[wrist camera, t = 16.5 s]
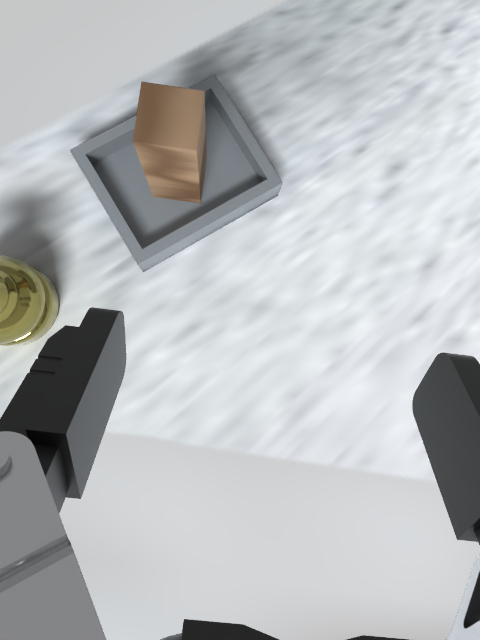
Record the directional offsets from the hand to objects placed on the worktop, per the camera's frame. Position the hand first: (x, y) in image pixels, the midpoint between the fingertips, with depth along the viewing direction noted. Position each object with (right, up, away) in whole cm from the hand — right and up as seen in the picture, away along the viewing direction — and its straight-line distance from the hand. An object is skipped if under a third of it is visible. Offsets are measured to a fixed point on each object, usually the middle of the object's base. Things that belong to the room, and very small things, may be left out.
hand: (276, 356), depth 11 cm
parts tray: (-7, +14, +30) cm, 34 cm away
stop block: (-7, +14, +29) cm, 33 cm away
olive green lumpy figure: (-21, +2, +28) cm, 35 cm away
